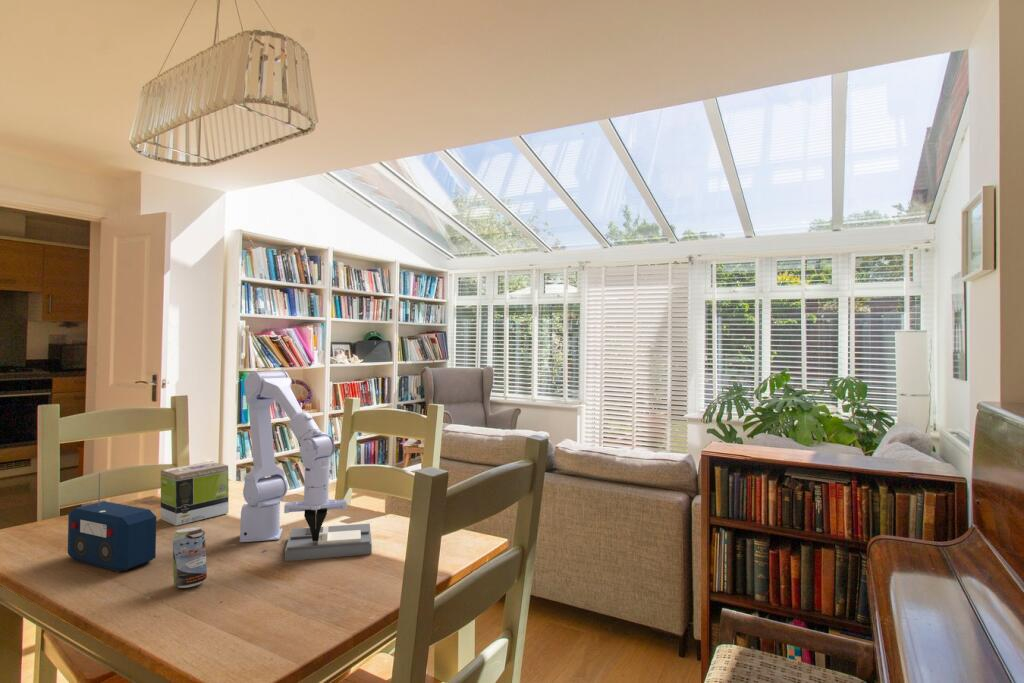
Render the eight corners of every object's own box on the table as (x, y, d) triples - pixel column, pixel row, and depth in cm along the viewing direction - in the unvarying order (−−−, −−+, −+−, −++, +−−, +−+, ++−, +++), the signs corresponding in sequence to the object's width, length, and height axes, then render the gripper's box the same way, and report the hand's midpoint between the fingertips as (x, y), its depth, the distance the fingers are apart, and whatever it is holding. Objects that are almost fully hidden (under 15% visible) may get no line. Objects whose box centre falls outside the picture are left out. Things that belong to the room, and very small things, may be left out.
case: (284, 561, 133) (284, 548, 133) (291, 538, 148) (291, 526, 148) (371, 554, 138) (371, 541, 138) (369, 532, 154) (369, 521, 154)
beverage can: (183, 594, 114) (184, 536, 114) (164, 585, 118) (165, 529, 118) (213, 583, 120) (214, 527, 120) (194, 575, 124) (195, 521, 124)
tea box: (212, 507, 173) (213, 460, 173) (229, 514, 167) (230, 464, 167) (159, 519, 161) (160, 468, 161) (175, 527, 155) (176, 473, 155)
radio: (60, 560, 130) (62, 475, 130) (100, 548, 138) (102, 467, 139) (121, 576, 123) (123, 485, 123) (159, 562, 131) (161, 476, 131)
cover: (318, 545, 135) (318, 534, 135) (319, 536, 142) (319, 526, 142) (360, 542, 138) (361, 531, 138) (360, 533, 144) (360, 523, 144)
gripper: (283, 490, 133) (281, 547, 132) (346, 487, 136) (345, 542, 136) (286, 483, 139) (285, 537, 139) (347, 480, 143) (346, 533, 143)
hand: (315, 539), depth 138 cm, fingers closed
